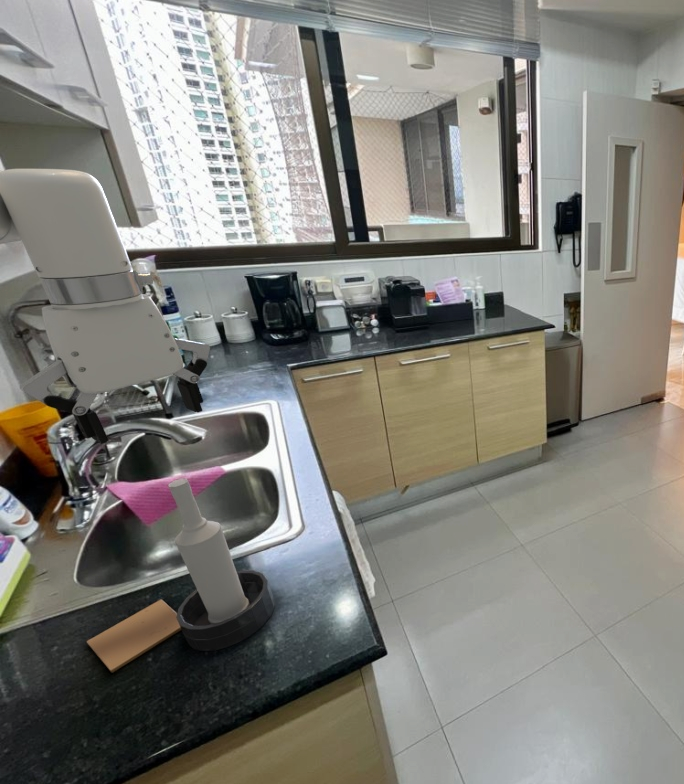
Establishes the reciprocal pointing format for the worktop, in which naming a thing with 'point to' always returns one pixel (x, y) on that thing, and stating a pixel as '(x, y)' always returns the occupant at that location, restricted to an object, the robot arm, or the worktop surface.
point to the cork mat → (135, 635)
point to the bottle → (207, 558)
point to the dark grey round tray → (231, 629)
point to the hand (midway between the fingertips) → (150, 424)
